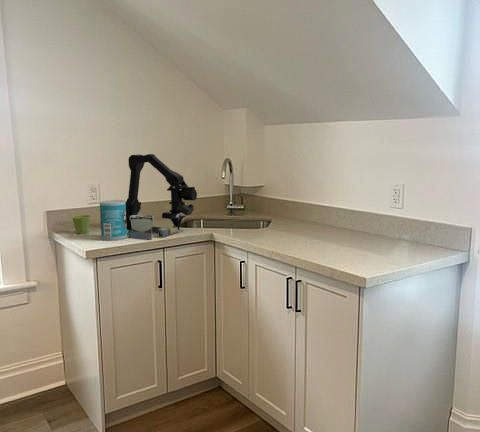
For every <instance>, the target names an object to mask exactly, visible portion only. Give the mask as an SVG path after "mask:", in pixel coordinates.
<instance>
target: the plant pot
mask: <svg viewBox="0 0 480 432" xmlns="http://www.w3.org/2000/svg"><path fill="white" fill-rule="evenodd" d="M71 219H72V221H73V225H74V230H75V234H76V235H84V234H86V235H87V234H88V233H89V232H90V229H89V228H90V219H91V215H89V214H78V215H73V216H71Z"/></svg>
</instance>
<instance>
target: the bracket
mask: <svg viewBox="0 0 480 432" xmlns="http://www.w3.org/2000/svg"><path fill="white" fill-rule="evenodd" d="M161 228H168V229H169V228H170V227H164V226H154V225H152V235H151V233H144V232H135V231H132V229H131V230H127V238H131V239H138V240H139V239H140V240H145V241H146V240H148V241H151V240H153V239H152V237H153V234H158V229H161Z"/></svg>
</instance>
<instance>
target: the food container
mask: <svg viewBox="0 0 480 432" xmlns="http://www.w3.org/2000/svg"><path fill="white" fill-rule="evenodd" d="M129 220H131V227H132V231H135V232H144V233H151V235H152V236H153V232H152V226H154V225H153V222H154V221H155V217H154V216H153V215H152V214H138V215H132V216H130V219H129Z"/></svg>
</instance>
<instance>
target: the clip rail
mask: <svg viewBox="0 0 480 432" xmlns="http://www.w3.org/2000/svg"><path fill="white" fill-rule="evenodd" d="M168 228H169V227H166V228H161V229H158V233H157V238H161V239H163V238H166V237H170V236H173V235H177V234H180V232H181V233H184V230H180V229H179V230H178V231H179V232H176V233H172V234H169V235H168Z"/></svg>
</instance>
